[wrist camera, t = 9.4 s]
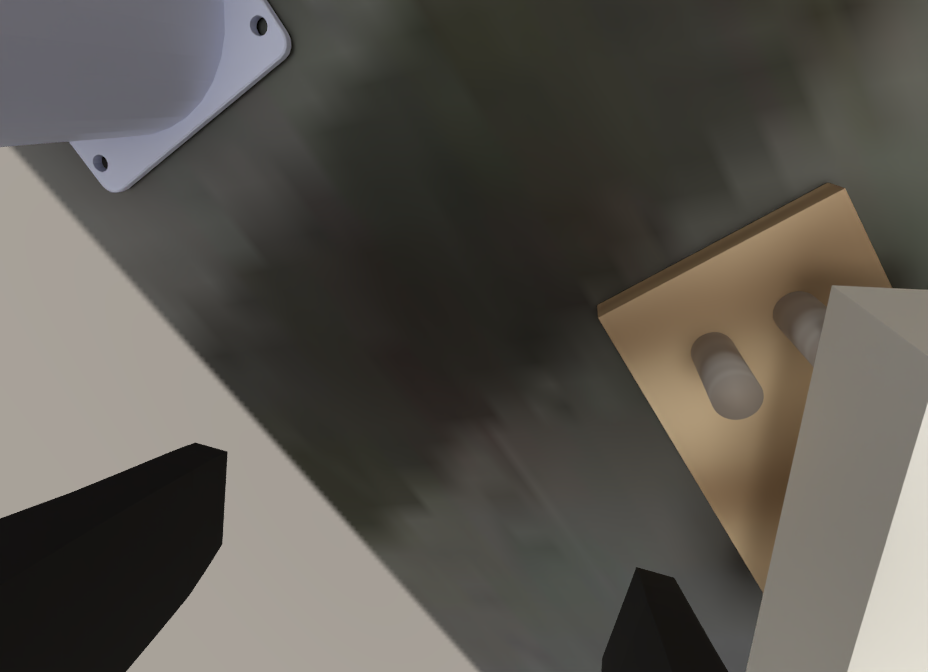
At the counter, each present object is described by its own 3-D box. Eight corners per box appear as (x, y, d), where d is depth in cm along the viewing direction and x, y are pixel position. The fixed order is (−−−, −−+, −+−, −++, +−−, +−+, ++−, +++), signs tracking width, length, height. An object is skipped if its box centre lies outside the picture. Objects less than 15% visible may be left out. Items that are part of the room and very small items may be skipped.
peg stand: (596, 305, 19) (601, 356, 15) (828, 182, 17) (901, 207, 13) (791, 631, 22) (836, 743, 18) (1010, 564, 20) (1115, 676, 16)
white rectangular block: (894, 705, 17) (992, 893, 13) (743, 683, 18) (791, 856, 14) (1035, 295, 13) (1243, 384, 9) (831, 285, 14) (939, 364, 10)
